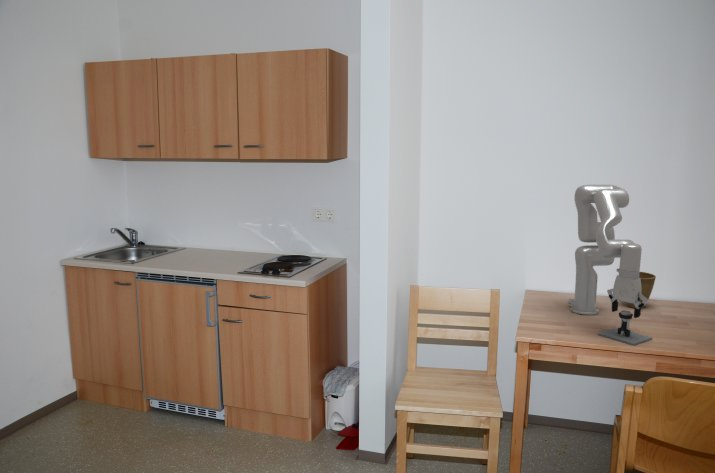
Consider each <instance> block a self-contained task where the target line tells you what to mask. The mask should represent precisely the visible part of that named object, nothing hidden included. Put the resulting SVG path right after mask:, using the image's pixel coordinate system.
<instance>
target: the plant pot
mask: <svg viewBox="0 0 715 473" xmlns="http://www.w3.org/2000/svg"><path fill="white" fill-rule="evenodd" d="M656 277H657V276H656V275H655V274H654V273H650V272H645V271H640V273H639V278H640V280H641V294H642V295H643V296H644V297H646V298H647V299H648V300H649V299H650V297H651V295H652V292H653V289H654V285H655V282H656ZM642 302H643V300H642V299H641V300H640V303H642ZM647 303H648V302H647ZM647 303H646V305H647ZM626 304H627V307H629V308H633V309H635V308H636V307H635V305H634V304H633V303H627V302H626ZM646 305H645V306H643V307H642V308H641V309H645V307H646Z"/></svg>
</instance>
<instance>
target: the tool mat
mask: <svg viewBox="0 0 715 473" xmlns="http://www.w3.org/2000/svg"><path fill="white" fill-rule="evenodd" d="M618 328H619V327H613V328H611V329H606V330H603V331H600V332H599V331H598V332H597V336H601V337H604V338H607V339H611V340H614V341H617V342H621V343H624V344H627V345H630V346H638V345H640V344H643V343H646V342H649V341H651V340H653V337H652V336H648V335H644V334H640V333H637V332H634V331H631V336H629V337H626V336H622V335H620V334H618V332H616V331H618V330H616V329H618Z"/></svg>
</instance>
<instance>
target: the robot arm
mask: <svg viewBox="0 0 715 473" xmlns="http://www.w3.org/2000/svg"><path fill="white" fill-rule="evenodd" d="M629 203H630V195H629V193H628V191H626V189H625V188H622V187H620V186H617V185H614V184H584V185H580V186H578V187H577V188H576V189H575V191H574V204H575V207H576V212H577V235H578V240H579V241H580V242H582V243H587V245H582V246H581V245H580V246H578V247H577V248H576V250H574V251H575V252H574V261H575V284H574V285H575V286H574V299H573V298H569V299H568V301H567V303H568V304H569V305H571V307H570V309H569V310H570V311H571V312H573V313H574V314H579V315H587V316H588V315H589V316H591V315H592V316H593V315H598V314H599V313H600V309H599V308H597V306H596V305H597V290H598V273H597V272H596V270H595V269H594V267H596V266H597V267H599V266H600V267H605V266H612V264H613V263H614V262H615V259H617V258H618V259H619V268H616V272H618V274H617V275H616V276H615V279H614V282H613V283H614V284H613V288H610V289H607V290H606V292H607V295H608V298H609V299H610V302H611V312H612V313H614V312H617V311H618V310H619V301H620V302H623V303H626V304H627V303H633V304H634V305H635V307H636V308H633V319H637V318H640V316H641V312H642V309H643V308H642V307H643V306H645V305H647V304H646V303H648V302H649V299H647V298H646V297H644V296H643V295H642V294H641V280H640V278H639V273H640V272H641V262H642V260H641V259H642V251H643V250H642V249H643V248H642V245H640V244H639V243H635V242H634V241H633V240H631V239H616V238H615V237H616V236H615V230H614V227H616V226H617V225H618V224H620V223H621V222H622V220H623V216H622V213H621V210H620V208H621V209H624V208H626V207H627V206H628V205H629ZM593 204H595V206H594V205H593ZM598 217H599V219H600V221H598ZM589 243H593V244H594V243H596V245H593V244H592V245H588V244H589ZM641 299H642V300H643V302H642V303H640V300H641ZM645 307H646V306H645Z"/></svg>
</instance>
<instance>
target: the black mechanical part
mask: <svg viewBox="0 0 715 473" xmlns="http://www.w3.org/2000/svg"><path fill="white" fill-rule="evenodd" d="M633 317H634V313H632V312H631V311H630V310H625V309H624V310H621V311H620V312H618V318H620V324H619V325H620V326H619V327H617V328H618V329H616V330H618V331H616V332H618V334H620V335H622V336H626V337H629V336H631V332H632V330H631V328H630V324H631V320H632V319H633Z"/></svg>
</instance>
